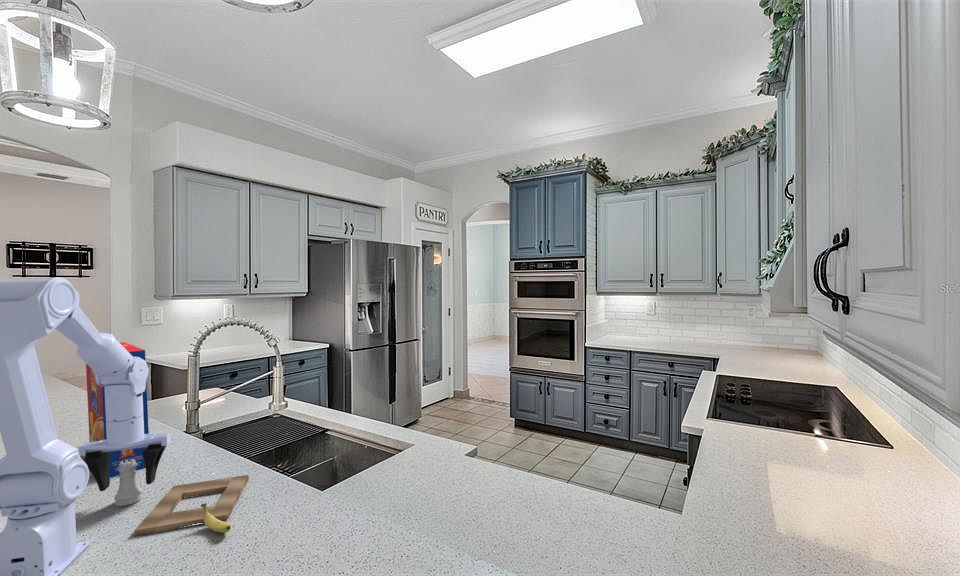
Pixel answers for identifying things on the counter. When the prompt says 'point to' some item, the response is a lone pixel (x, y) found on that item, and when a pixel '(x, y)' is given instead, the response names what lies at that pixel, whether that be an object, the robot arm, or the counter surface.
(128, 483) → the rook chess piece
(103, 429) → the blue and red box
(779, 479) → the counter surface
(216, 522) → the banana
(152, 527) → the walnut socket board
